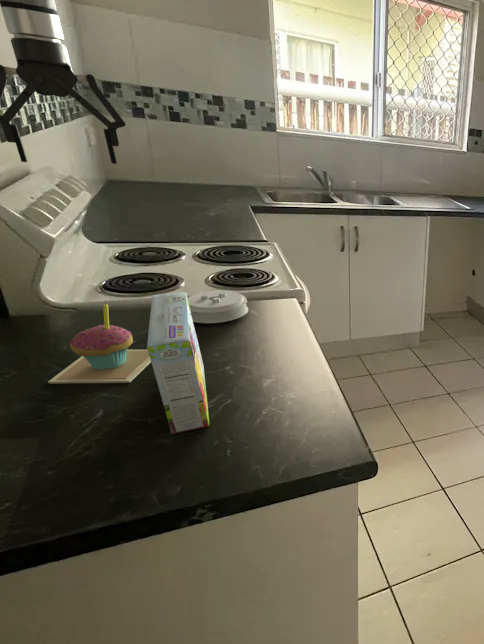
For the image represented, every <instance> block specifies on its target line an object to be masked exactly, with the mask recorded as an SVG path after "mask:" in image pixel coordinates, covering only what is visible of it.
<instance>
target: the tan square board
mask: <svg viewBox="0 0 484 644" xmlns="http://www.w3.org/2000/svg"><path fill="white" fill-rule="evenodd" d="M150 364H152V363H151V359H150V356H149V353H148V350H147V349H127V353H126V361H125V362H124V363H123V364H122V365H120V366H118V367H115V368H111V369H95V368H93V367H92V366H91V364H90V363H89V362H88V361H87V360H86V359H85V358H84V357H83V356H80V357H78V359H76V360H74V362H72V363H71V364H69V365H68V366H66V367H65V368H64V369H63V370H62V371H60V372H59V373H57V374H56V375H55V376H54V377H52V378H51V379H50V380H48V381H47V384H48V385H49V384H50V385H51V384H57V385H58V384H130V383H131V382H132V381H133V380H134V379H135V378H137V377H138V376H139V375H140V373H141V372H143V371H144V370H145V369H146V368H147V367H148V366H149V365H150Z"/></svg>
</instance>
